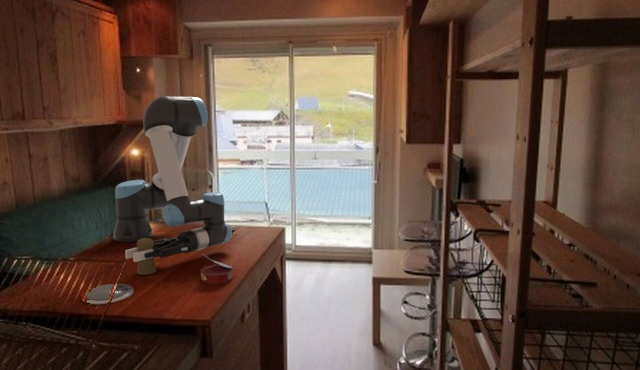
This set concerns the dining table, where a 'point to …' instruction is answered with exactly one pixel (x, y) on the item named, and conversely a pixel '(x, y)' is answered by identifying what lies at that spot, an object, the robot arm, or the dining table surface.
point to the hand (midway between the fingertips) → (130, 256)
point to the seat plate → (104, 291)
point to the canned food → (216, 273)
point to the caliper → (234, 228)
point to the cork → (147, 264)
